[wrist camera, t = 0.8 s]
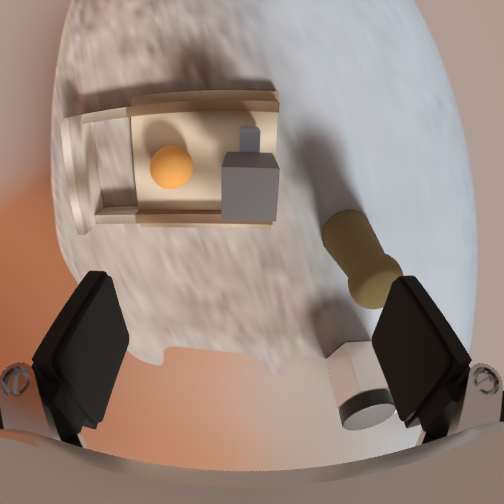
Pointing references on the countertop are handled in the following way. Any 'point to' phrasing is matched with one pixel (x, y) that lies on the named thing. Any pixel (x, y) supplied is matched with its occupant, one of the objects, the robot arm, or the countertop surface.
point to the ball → (171, 167)
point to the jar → (359, 386)
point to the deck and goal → (161, 135)
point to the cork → (360, 258)
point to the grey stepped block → (249, 181)
